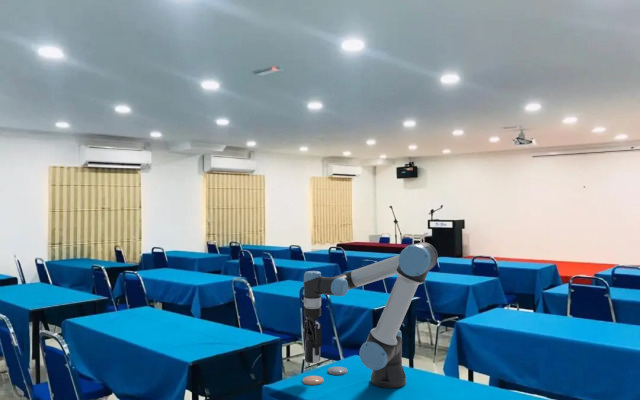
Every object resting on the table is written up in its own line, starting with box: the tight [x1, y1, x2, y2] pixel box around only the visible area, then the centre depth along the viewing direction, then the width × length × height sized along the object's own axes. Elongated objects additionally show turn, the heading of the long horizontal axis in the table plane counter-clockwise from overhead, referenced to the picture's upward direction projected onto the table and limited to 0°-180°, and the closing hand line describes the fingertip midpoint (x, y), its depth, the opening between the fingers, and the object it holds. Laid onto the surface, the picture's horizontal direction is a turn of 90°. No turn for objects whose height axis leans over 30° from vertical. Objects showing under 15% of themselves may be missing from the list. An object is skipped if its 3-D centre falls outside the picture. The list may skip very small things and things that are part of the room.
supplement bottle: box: [304, 332, 321, 364], centre depth 212 cm, size 7×7×12 cm
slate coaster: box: [327, 366, 348, 376], centre depth 224 cm, size 9×9×1 cm
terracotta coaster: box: [302, 375, 324, 386], centre depth 212 cm, size 9×9×1 cm
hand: (312, 359), depth 212 cm, fingers closed on supplement bottle, 7 cm apart
